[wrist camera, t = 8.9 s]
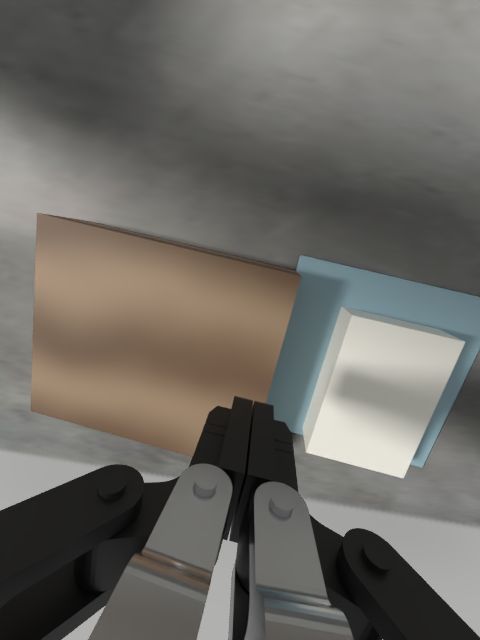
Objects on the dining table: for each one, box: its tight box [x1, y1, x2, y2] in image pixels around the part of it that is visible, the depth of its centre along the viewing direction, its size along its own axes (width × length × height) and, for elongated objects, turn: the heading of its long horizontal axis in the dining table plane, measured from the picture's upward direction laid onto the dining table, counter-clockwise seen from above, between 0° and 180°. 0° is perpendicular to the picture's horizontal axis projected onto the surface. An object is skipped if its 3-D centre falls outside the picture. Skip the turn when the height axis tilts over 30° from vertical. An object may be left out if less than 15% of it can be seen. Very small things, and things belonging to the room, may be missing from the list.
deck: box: [31, 213, 302, 457], centre depth 18 cm, size 12×14×4 cm
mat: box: [266, 255, 480, 468], centre depth 18 cm, size 12×12×1 cm
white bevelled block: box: [302, 306, 465, 478], centre depth 17 cm, size 9×6×2 cm, turn 168°
